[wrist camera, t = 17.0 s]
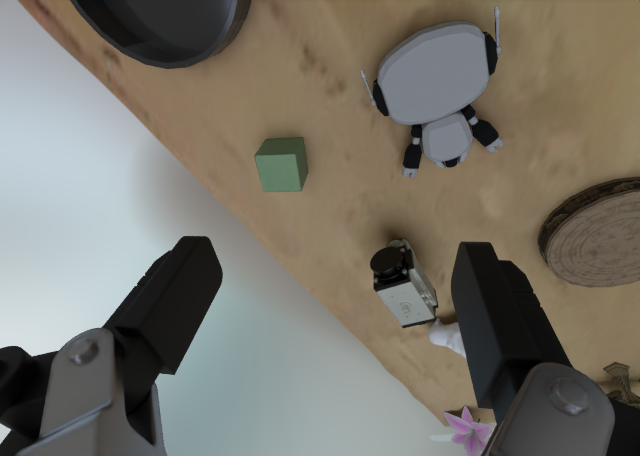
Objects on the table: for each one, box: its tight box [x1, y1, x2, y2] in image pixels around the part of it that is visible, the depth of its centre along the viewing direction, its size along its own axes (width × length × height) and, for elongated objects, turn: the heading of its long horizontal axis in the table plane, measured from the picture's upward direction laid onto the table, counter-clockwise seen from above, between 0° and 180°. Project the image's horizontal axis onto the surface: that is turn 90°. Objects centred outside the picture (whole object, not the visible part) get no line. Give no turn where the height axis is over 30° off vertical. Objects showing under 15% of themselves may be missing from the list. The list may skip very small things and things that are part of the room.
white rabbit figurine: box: [428, 318, 466, 358], centre depth 54 cm, size 6×8×12 cm
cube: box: [254, 138, 308, 192], centre depth 39 cm, size 5×5×5 cm
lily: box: [444, 406, 492, 456], centre depth 76 cm, size 12×12×10 cm
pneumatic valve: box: [370, 239, 438, 328], centre depth 44 cm, size 6×12×12 cm, turn 33°
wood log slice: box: [538, 177, 640, 287], centre depth 40 cm, size 16×16×3 cm
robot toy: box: [361, 5, 504, 178], centre depth 33 cm, size 12×4×15 cm
